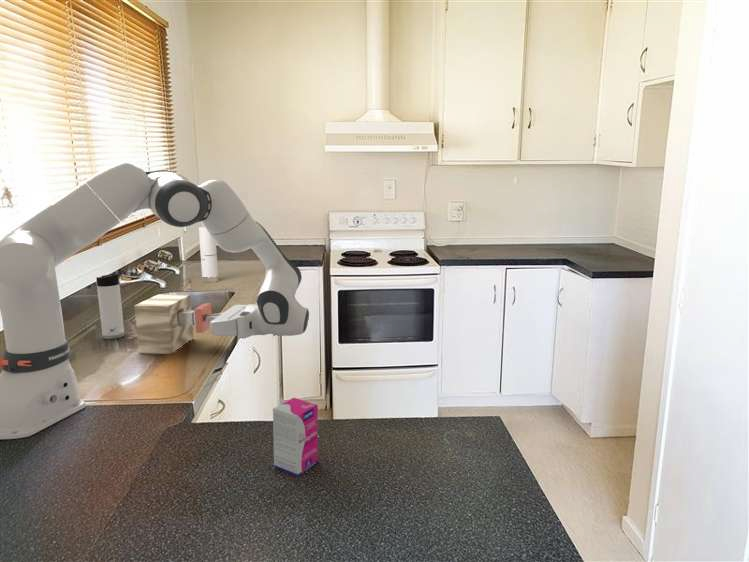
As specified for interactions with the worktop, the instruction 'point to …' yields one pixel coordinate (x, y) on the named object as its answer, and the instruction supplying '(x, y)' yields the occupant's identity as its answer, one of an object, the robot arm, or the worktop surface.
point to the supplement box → (295, 436)
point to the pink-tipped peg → (196, 317)
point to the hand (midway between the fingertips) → (207, 318)
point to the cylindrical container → (208, 254)
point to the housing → (162, 324)
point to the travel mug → (110, 306)
